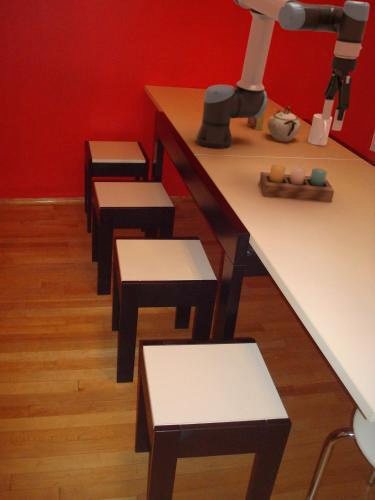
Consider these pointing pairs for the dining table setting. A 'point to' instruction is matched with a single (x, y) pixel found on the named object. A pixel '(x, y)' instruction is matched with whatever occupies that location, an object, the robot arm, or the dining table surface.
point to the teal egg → (318, 177)
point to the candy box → (256, 122)
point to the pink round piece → (297, 175)
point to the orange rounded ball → (277, 174)
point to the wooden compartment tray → (295, 189)
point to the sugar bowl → (284, 125)
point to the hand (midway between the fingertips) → (330, 124)
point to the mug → (319, 130)
